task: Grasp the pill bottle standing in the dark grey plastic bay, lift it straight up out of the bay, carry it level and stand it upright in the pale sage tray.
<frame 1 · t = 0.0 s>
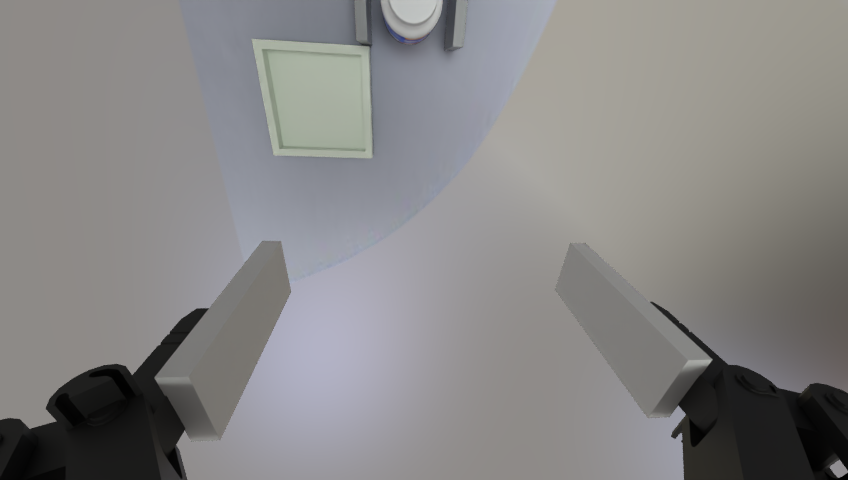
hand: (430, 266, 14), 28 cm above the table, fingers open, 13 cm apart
pill bottle: (409, 14, 32), on the table
tray: (321, 102, 35), on the table
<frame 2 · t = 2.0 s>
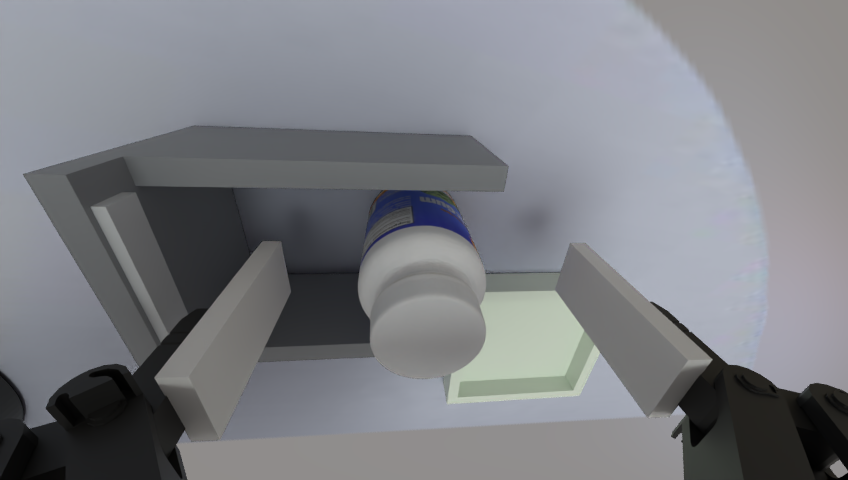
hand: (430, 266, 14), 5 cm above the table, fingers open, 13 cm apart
pill bottle: (412, 217, 19), on the table
tray: (520, 332, 24), on the table
bay: (346, 218, 18), on the table
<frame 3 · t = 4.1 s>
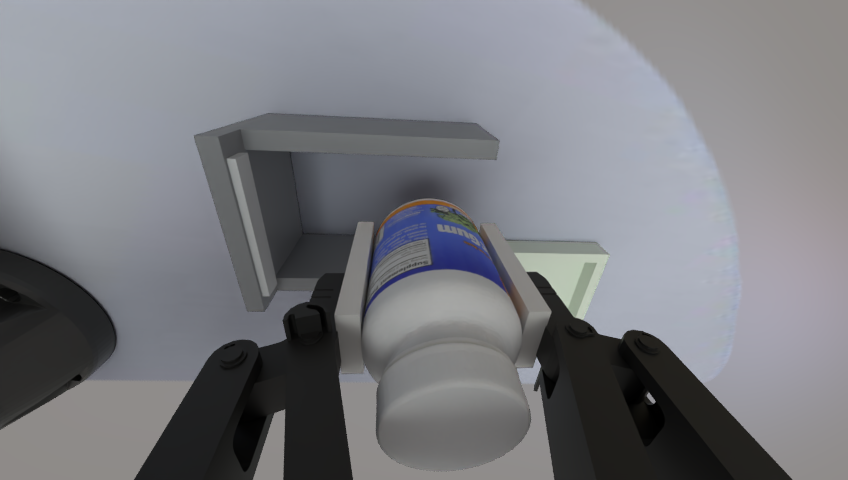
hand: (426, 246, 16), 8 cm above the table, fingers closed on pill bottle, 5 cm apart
pill bottle: (425, 240, 16), point 8 cm above the table, touching gripper
tray: (517, 294, 29), on the table
bay: (376, 188, 23), on the table
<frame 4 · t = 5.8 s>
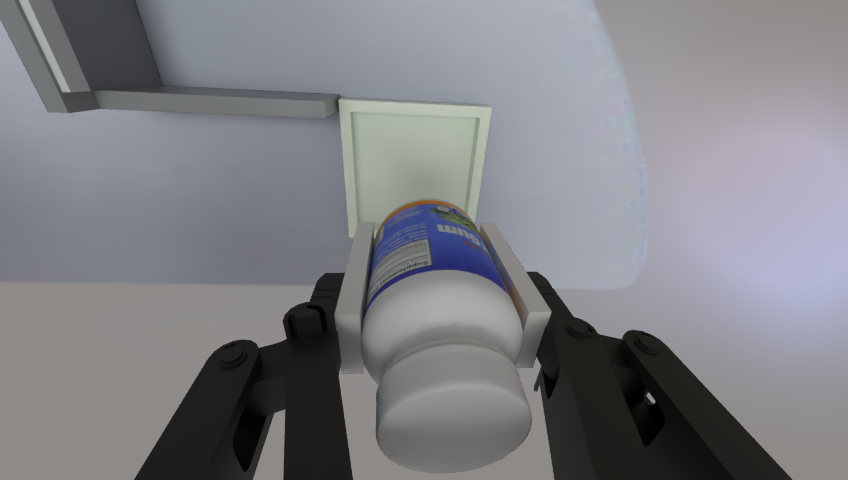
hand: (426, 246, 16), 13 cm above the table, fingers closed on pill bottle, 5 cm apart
pill bottle: (425, 241, 16), point 13 cm above the table, touching gripper
tray: (413, 171, 27), on the table
bay: (233, 26, 21), on the table
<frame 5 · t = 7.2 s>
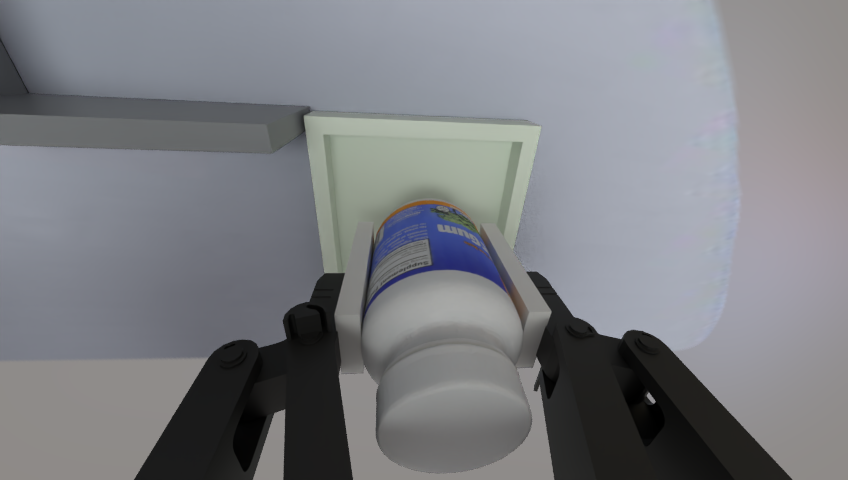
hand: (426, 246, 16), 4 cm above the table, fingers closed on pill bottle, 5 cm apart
pill bottle: (425, 241, 16), point 4 cm above the table, touching gripper
tray: (419, 213, 19), on the table
when the fingers open (2 cm above the table, at t = 8.0 s): pill bottle stays where it is, resting on tray.
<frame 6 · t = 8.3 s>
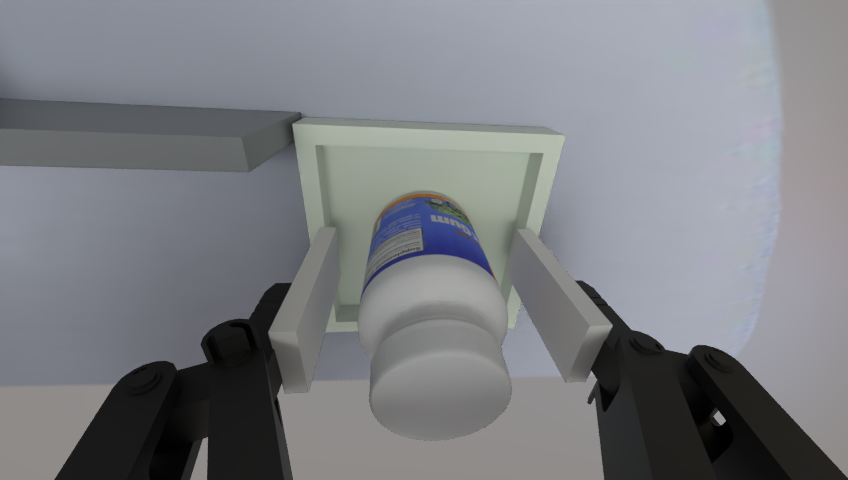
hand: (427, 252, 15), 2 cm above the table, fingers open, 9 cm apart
pill bottle: (421, 233, 17), resting on tray
tray: (423, 230, 17), on the table
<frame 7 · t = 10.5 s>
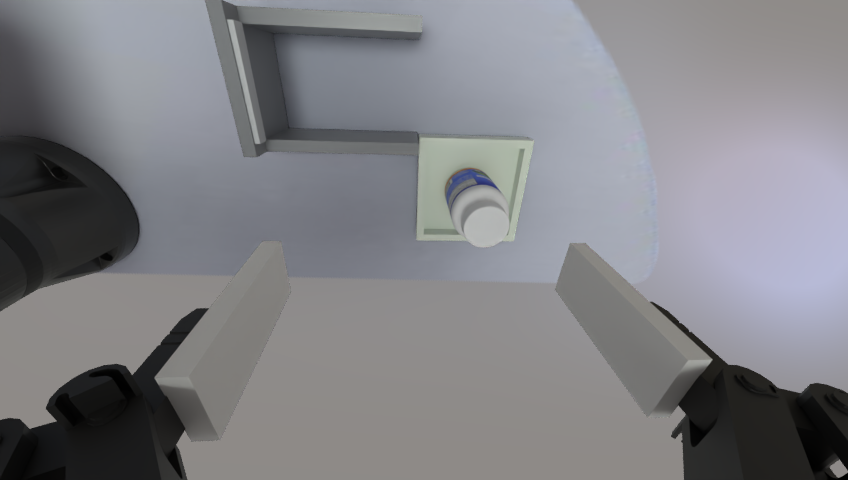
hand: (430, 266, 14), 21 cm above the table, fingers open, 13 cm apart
pill bottle: (467, 189, 34), resting on tray
tray: (467, 188, 35), on the table
bay: (345, 86, 29), on the table
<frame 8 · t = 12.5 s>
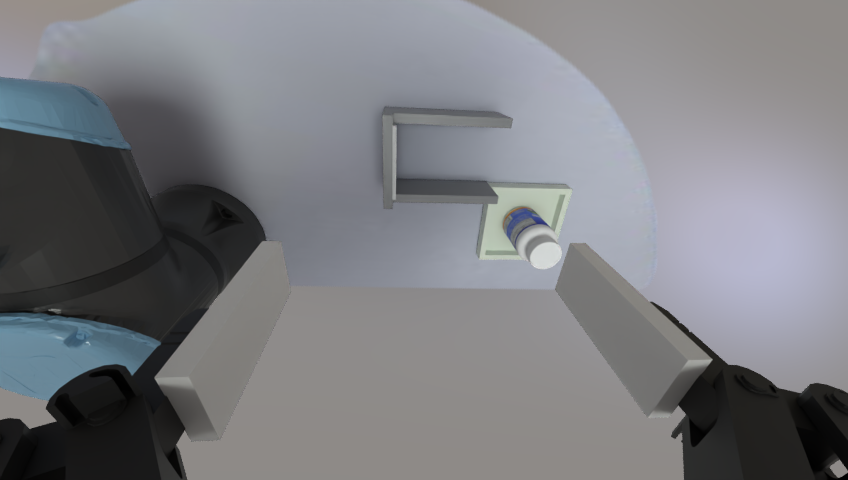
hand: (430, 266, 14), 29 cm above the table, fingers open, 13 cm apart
pill bottle: (518, 221, 46), resting on tray
tray: (518, 220, 46), on the table
bay: (438, 150, 40), on the table
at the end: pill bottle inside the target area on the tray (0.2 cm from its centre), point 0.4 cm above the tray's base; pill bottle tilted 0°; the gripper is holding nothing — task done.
